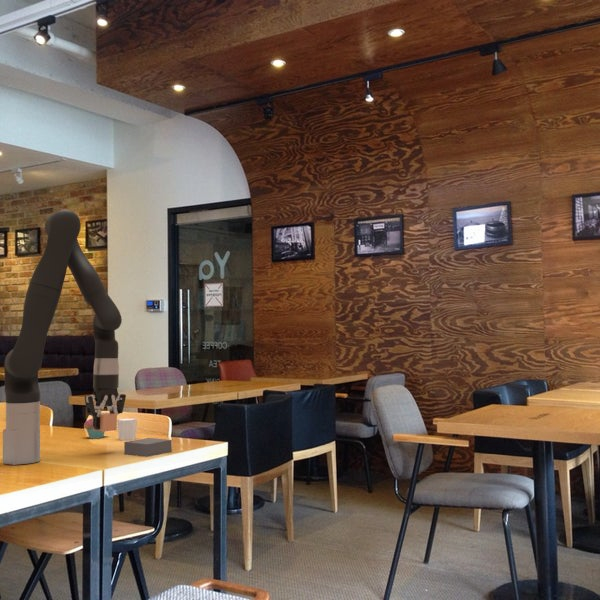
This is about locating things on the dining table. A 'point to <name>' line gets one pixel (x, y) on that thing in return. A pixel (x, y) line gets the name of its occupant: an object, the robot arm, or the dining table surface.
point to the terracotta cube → (107, 422)
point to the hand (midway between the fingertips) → (104, 428)
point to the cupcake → (92, 434)
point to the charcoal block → (148, 447)
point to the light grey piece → (127, 428)
